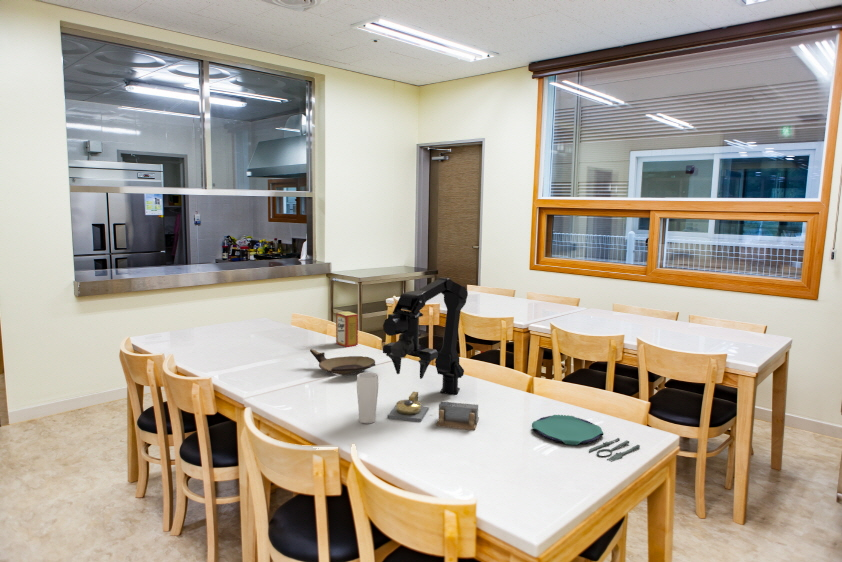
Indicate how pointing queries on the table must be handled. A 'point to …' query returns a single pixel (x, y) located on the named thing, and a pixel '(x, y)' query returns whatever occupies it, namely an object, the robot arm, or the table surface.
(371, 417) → the drinking glass
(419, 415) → the nut base
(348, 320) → the baking soda box
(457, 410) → the bar
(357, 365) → the frying pan
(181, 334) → the table surface
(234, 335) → the table surface
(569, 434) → the cutlery set
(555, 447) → the table surface
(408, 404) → the gold low rounded piece
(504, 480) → the table surface
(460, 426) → the peg rack
